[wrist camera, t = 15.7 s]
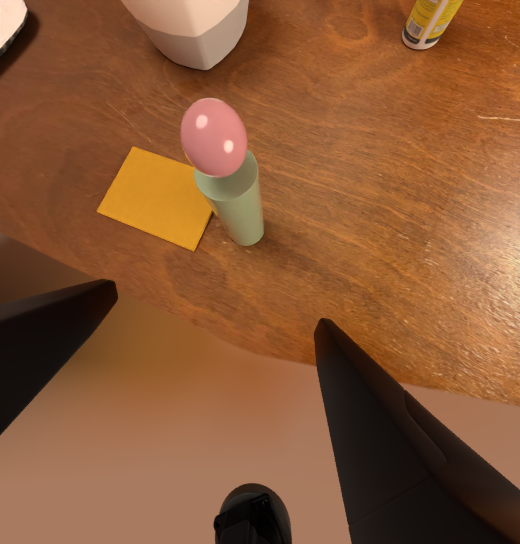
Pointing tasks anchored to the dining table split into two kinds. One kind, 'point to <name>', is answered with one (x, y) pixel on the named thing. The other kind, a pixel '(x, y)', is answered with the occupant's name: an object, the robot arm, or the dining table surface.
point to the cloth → (158, 199)
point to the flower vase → (224, 167)
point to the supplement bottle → (428, 22)
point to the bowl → (191, 28)
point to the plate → (11, 21)
